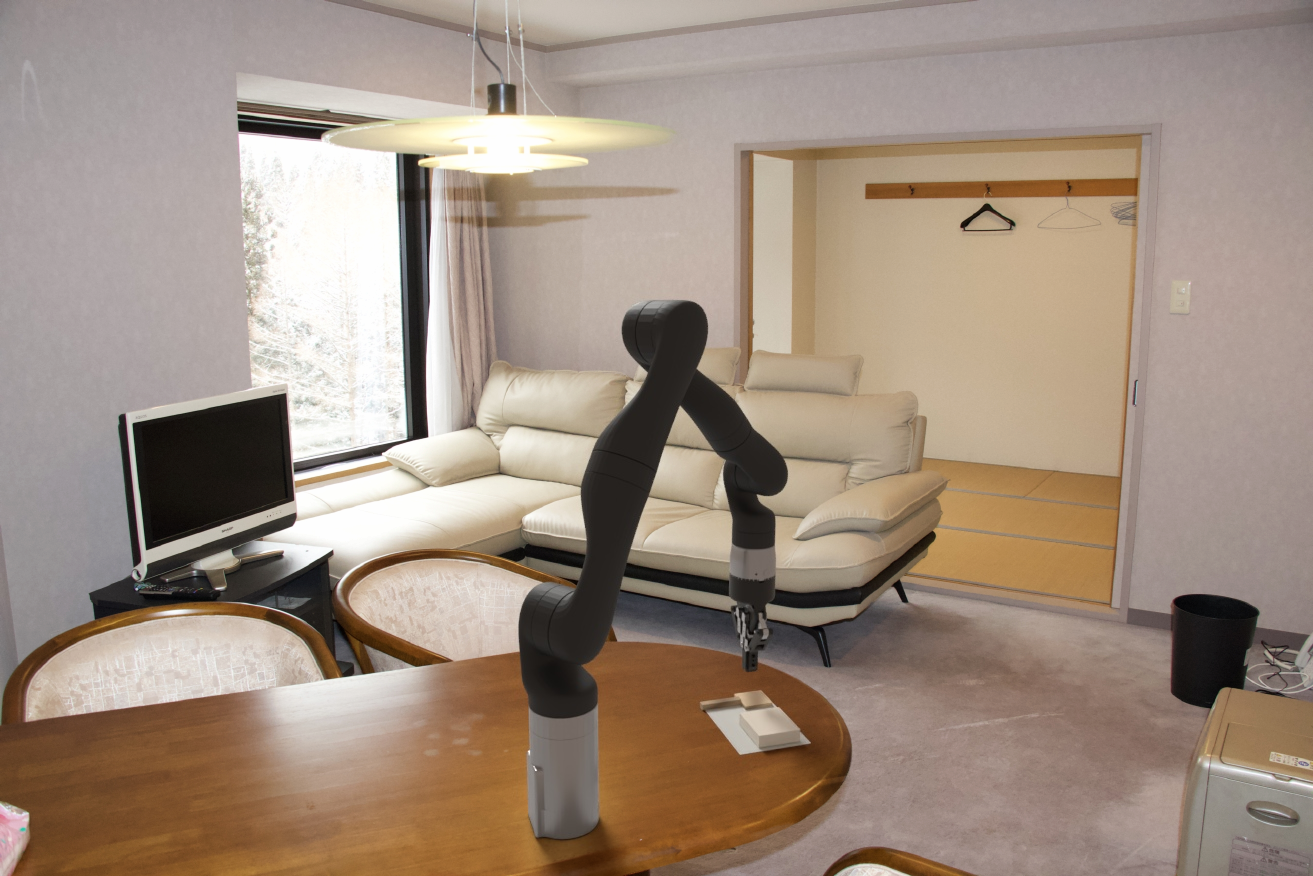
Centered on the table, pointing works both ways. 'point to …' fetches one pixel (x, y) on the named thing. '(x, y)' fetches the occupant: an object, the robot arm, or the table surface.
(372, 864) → the table surface
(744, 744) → the mat
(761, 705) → the turner
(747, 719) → the tile
